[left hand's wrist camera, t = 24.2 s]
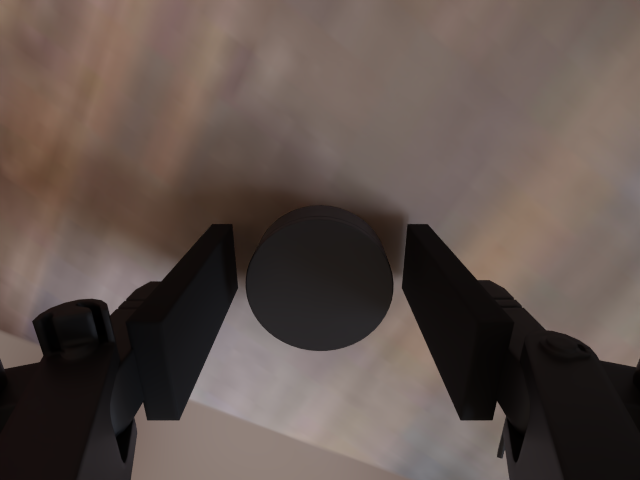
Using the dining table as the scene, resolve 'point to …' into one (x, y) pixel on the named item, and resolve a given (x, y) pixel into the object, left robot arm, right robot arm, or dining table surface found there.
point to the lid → (319, 279)
